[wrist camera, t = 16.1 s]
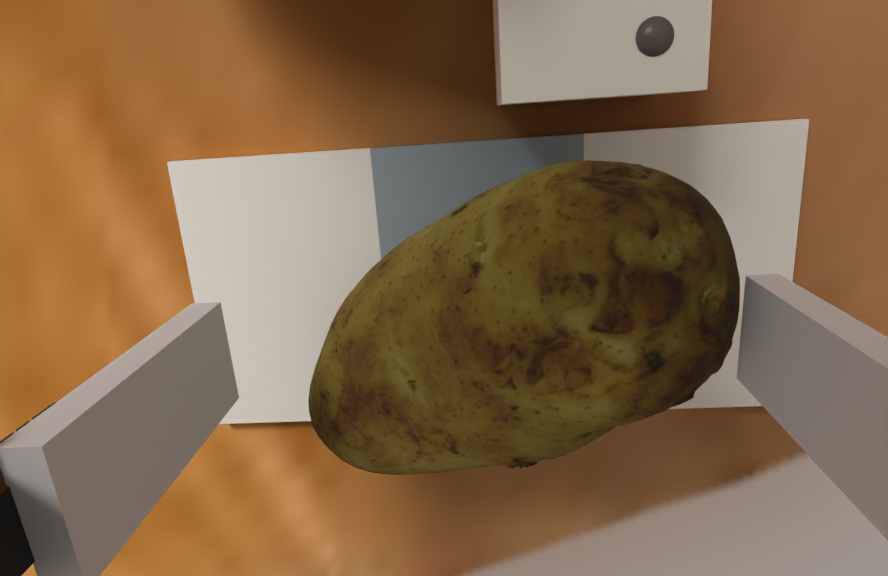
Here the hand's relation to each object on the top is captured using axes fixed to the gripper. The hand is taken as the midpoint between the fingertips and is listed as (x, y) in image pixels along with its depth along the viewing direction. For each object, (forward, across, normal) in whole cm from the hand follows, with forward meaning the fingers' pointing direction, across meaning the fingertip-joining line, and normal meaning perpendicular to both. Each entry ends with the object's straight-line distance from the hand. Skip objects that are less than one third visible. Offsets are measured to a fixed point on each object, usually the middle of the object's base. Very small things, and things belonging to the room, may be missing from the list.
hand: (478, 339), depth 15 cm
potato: (+6, 0, -1) cm, 6 cm away
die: (+7, +3, +8) cm, 11 cm away
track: (+7, 0, -1) cm, 7 cm away
